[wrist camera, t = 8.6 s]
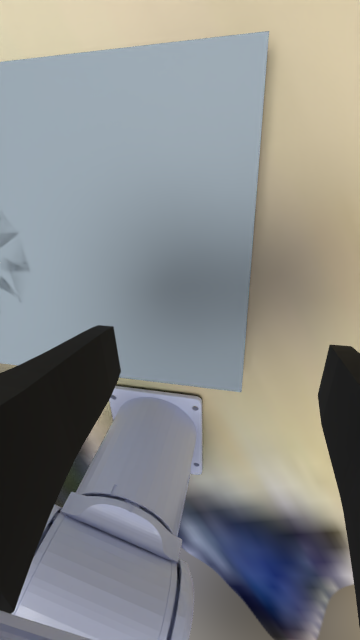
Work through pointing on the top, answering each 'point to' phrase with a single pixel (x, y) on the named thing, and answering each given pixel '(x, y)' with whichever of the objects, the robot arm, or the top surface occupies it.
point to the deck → (133, 204)
